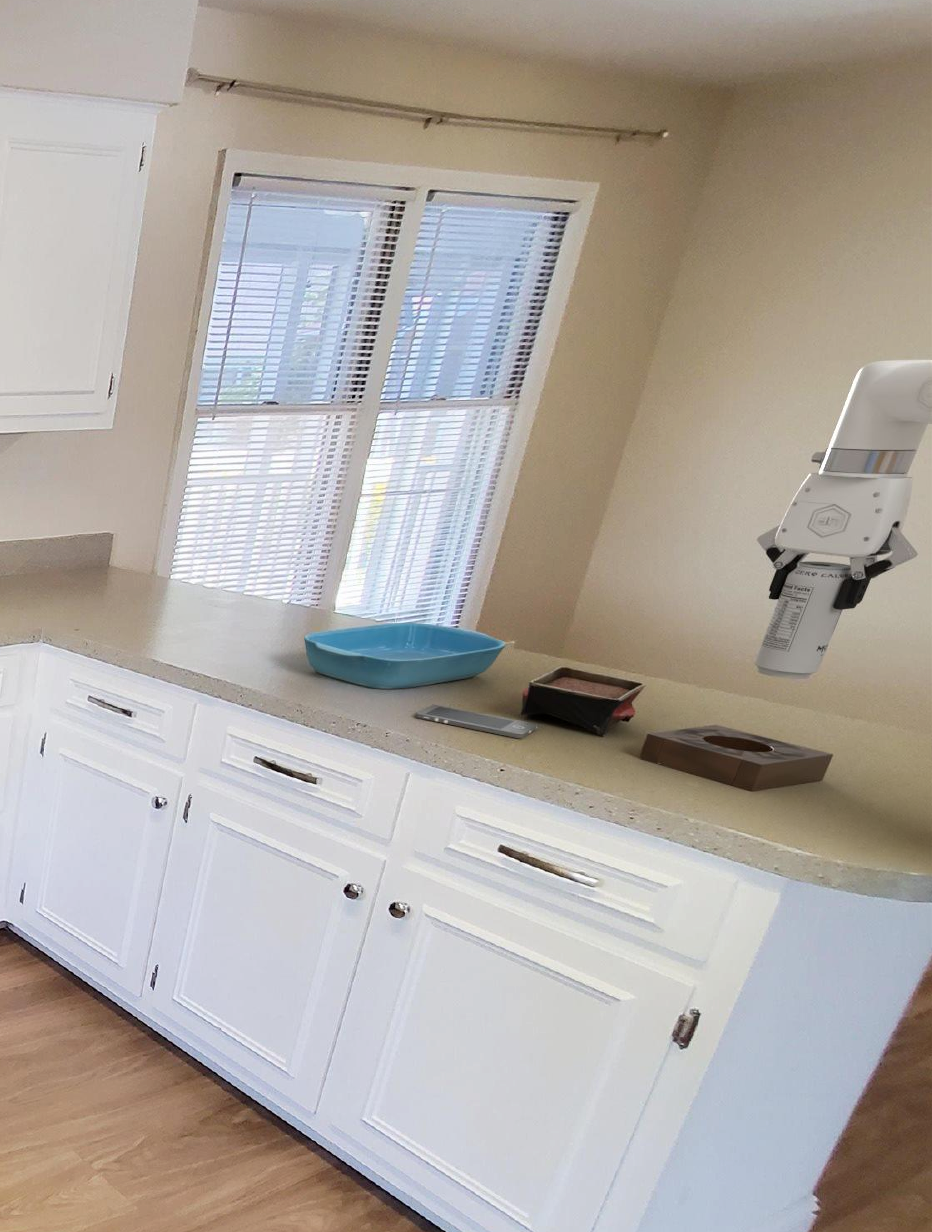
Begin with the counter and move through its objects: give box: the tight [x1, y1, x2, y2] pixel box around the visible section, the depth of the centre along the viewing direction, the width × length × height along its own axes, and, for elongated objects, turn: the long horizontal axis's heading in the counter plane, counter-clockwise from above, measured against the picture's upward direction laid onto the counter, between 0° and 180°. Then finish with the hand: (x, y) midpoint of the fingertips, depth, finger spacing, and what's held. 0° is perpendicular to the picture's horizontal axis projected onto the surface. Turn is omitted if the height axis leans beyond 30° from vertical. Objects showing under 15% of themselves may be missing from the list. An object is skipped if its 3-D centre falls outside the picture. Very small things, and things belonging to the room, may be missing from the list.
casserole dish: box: [303, 622, 507, 690], centre depth 199 cm, size 37×22×7 cm, turn 108°
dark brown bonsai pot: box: [519, 666, 646, 738], centre depth 170 cm, size 14×18×10 cm
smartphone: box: [414, 704, 539, 739], centre depth 171 cm, size 15×8×1 cm, turn 36°
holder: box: [638, 724, 834, 792], centre depth 149 cm, size 14×14×4 cm
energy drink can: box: [753, 561, 852, 680], centre depth 137 cm, size 6×6×15 cm
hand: (811, 602), depth 136 cm, fingers closed on energy drink can, 6 cm apart
